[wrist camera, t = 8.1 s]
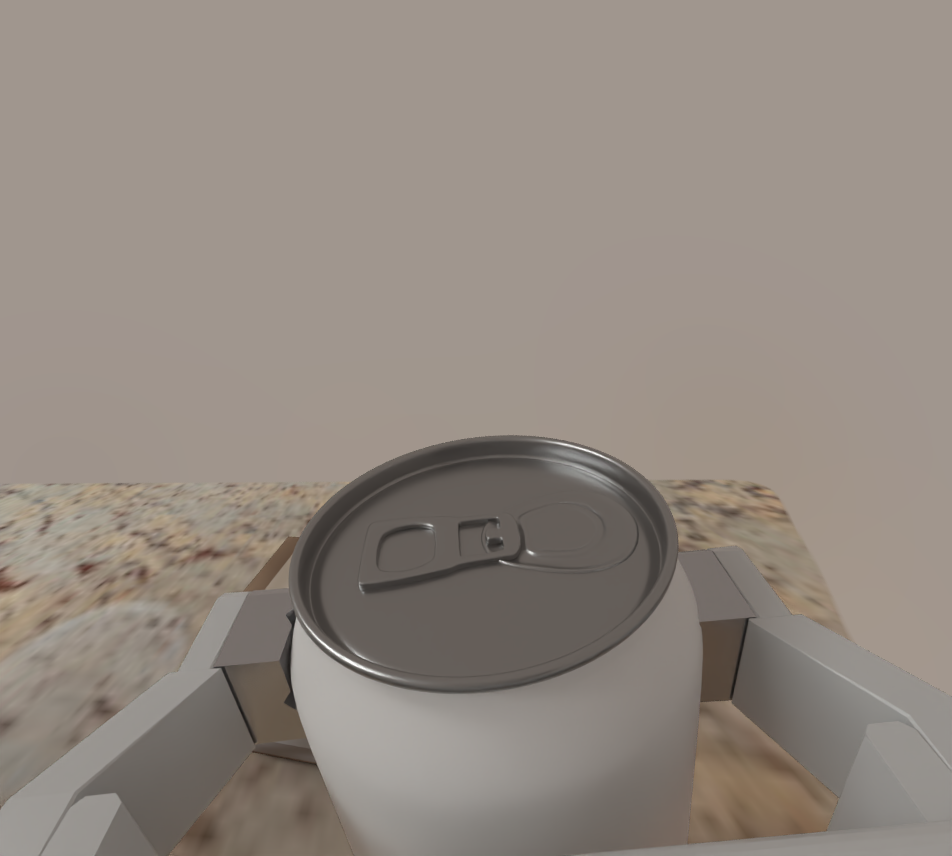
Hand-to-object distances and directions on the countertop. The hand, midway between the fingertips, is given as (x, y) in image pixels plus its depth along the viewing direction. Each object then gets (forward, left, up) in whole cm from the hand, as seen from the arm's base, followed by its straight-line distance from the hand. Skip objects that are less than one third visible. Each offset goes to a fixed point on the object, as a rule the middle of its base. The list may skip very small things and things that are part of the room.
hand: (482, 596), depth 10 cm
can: (+1, -1, -10) cm, 10 cm away
